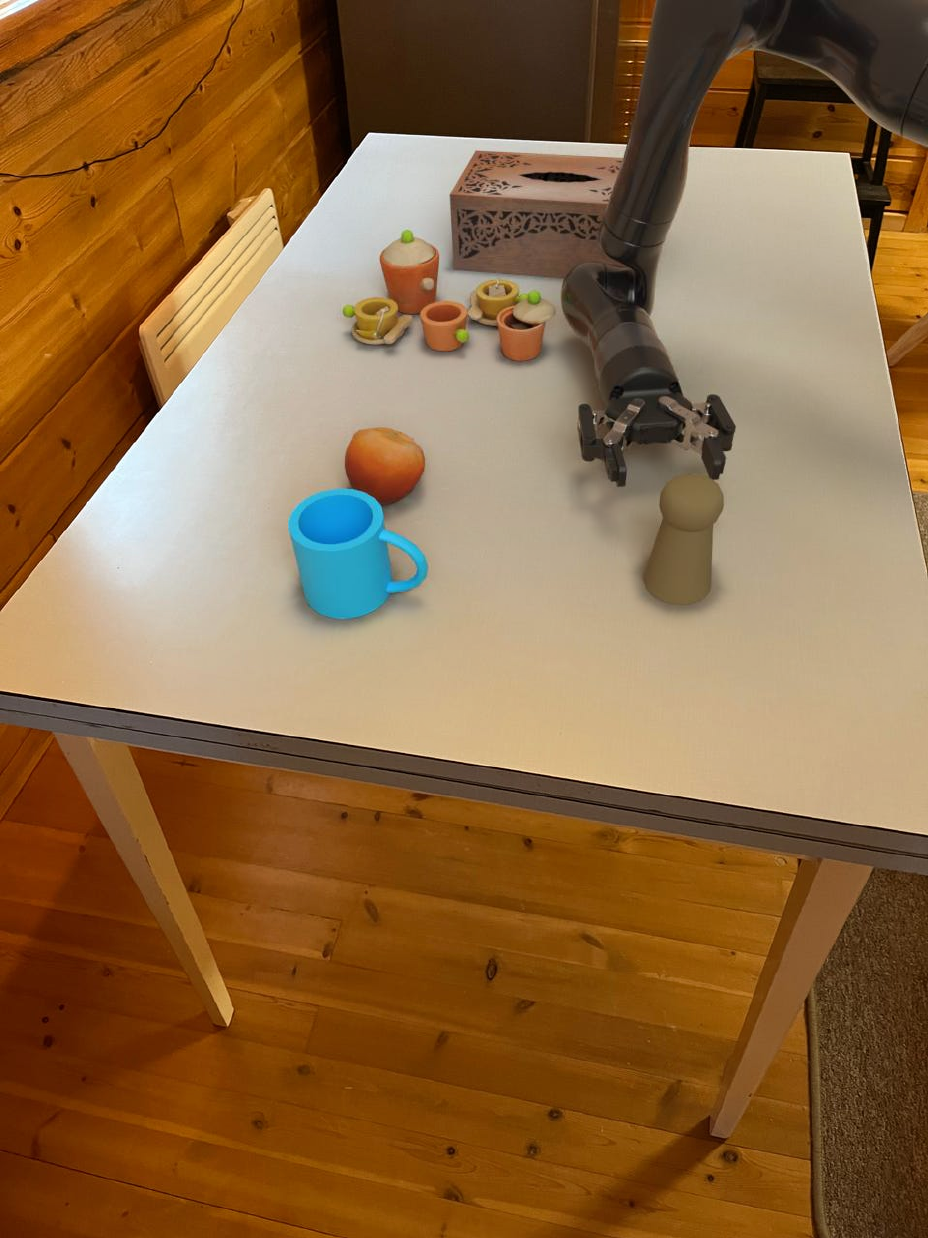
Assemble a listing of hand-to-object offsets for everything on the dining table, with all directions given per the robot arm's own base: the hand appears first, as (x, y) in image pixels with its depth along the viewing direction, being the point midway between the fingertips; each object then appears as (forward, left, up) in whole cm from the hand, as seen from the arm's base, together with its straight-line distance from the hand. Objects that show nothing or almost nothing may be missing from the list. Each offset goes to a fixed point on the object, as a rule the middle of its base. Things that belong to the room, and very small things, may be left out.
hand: (669, 475), depth 83 cm
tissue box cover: (+2, -58, -7) cm, 59 cm away
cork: (0, +7, -7) cm, 10 cm away
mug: (+28, +5, -7) cm, 29 cm away
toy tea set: (+17, -40, -7) cm, 44 cm away
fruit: (+26, -9, -7) cm, 28 cm away
